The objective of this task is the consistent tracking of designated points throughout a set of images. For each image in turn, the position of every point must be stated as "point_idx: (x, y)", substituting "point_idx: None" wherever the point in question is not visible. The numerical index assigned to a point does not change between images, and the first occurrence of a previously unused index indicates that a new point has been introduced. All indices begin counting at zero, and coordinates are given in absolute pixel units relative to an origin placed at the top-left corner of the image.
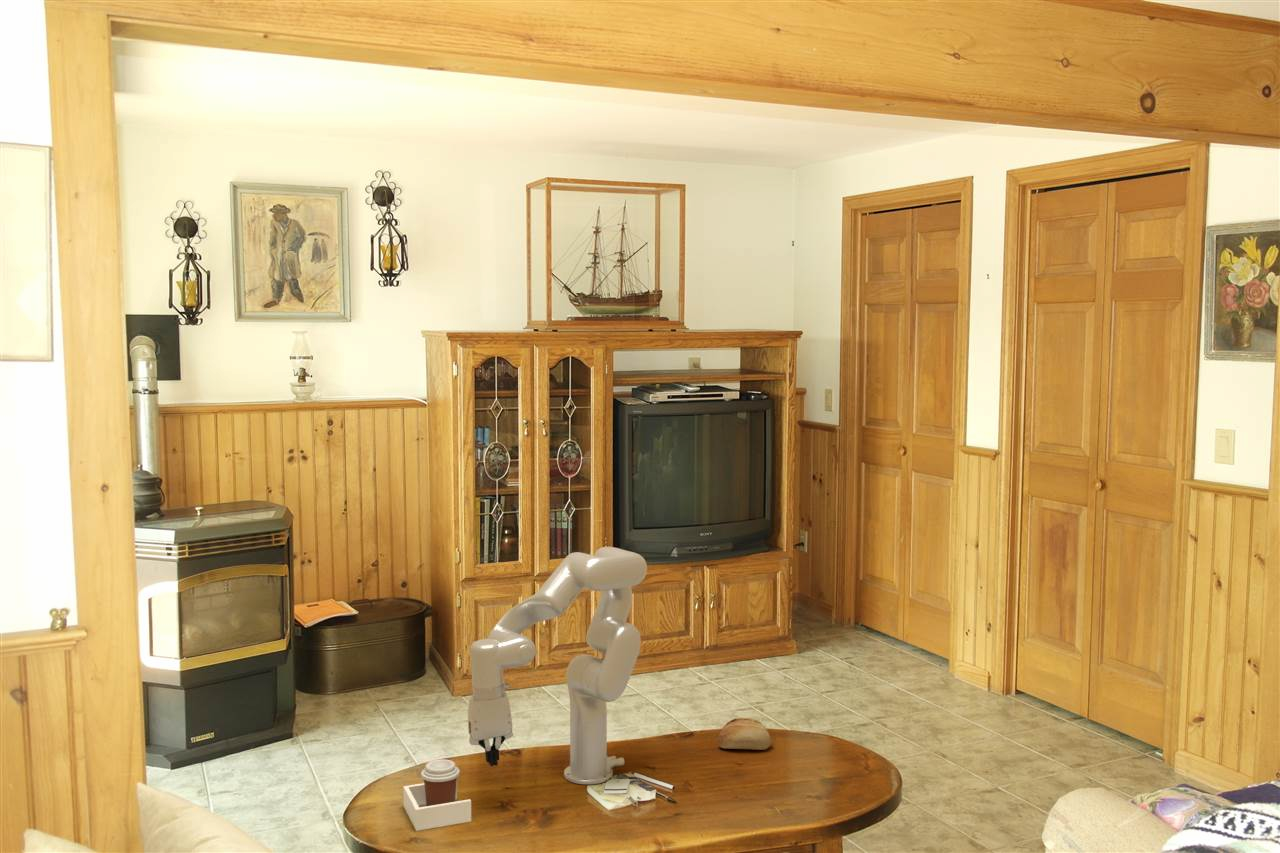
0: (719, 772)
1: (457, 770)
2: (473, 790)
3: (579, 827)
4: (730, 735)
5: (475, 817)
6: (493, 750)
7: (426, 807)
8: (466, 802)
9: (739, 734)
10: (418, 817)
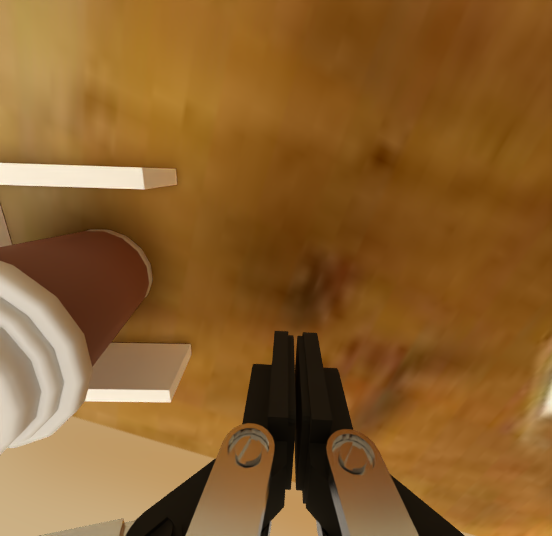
0: None
1: (65, 389)
2: (253, 123)
3: (424, 463)
4: None
5: (208, 335)
6: (296, 486)
7: None
8: (154, 399)
9: None
10: None
